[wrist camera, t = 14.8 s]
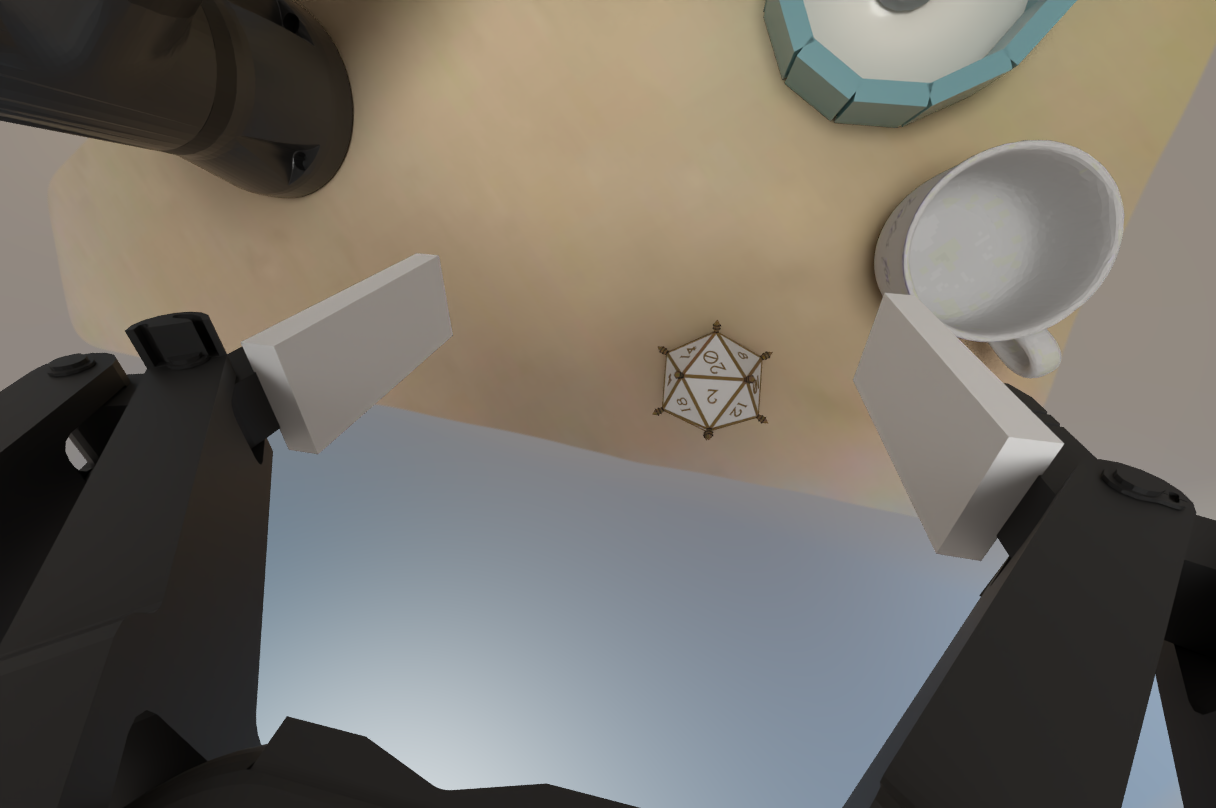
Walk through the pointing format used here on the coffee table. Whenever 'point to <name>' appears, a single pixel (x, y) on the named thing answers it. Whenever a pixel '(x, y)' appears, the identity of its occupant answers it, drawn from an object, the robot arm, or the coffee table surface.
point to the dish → (900, 52)
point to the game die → (712, 382)
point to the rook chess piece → (903, 4)
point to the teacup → (1006, 246)
